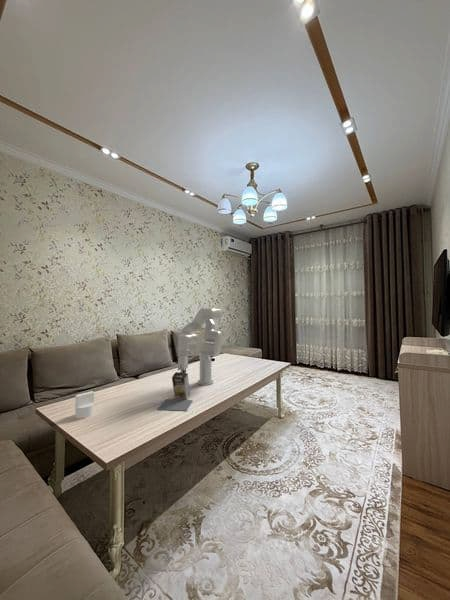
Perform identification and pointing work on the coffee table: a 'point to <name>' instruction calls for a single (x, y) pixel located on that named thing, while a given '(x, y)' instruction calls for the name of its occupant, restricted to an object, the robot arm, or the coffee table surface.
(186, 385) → the coffee box
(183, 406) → the mat
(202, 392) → the coffee table surface
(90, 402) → the translucent cup
